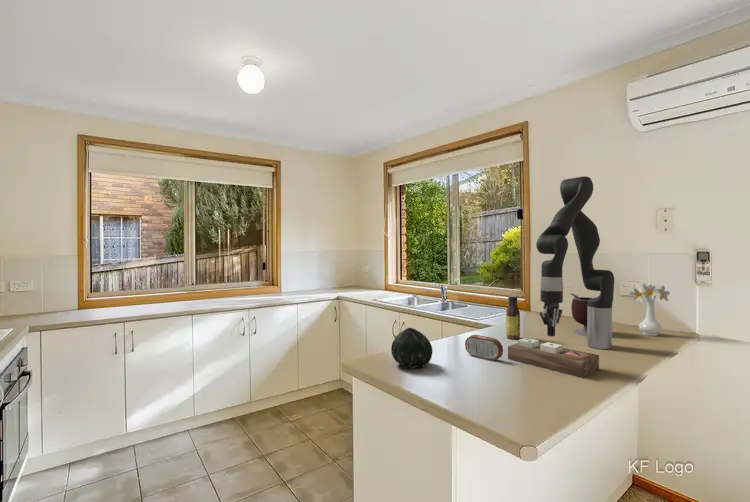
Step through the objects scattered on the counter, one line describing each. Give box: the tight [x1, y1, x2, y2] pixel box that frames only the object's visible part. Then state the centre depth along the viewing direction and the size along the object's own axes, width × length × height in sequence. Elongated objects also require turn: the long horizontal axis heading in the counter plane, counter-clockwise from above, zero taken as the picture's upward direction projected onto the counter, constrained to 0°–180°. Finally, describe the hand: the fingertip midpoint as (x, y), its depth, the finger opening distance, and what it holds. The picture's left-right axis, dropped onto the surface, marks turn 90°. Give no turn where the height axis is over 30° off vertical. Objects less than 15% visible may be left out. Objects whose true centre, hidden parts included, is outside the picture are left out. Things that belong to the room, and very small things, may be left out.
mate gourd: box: [570, 292, 593, 336], centre depth 190 cm, size 16×14×20 cm
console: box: [507, 342, 600, 379], centre depth 140 cm, size 14×27×5 cm, turn 39°
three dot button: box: [565, 351, 589, 359], centre depth 133 cm, size 6×6×4 cm
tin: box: [464, 334, 504, 361], centre depth 147 cm, size 15×3×8 cm, turn 47°
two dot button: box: [517, 337, 540, 348], centre depth 147 cm, size 6×6×4 cm
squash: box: [390, 327, 434, 369], centre depth 138 cm, size 14×15×15 cm
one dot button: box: [540, 341, 564, 354], centre depth 140 cm, size 6×6×4 cm
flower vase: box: [629, 283, 671, 337], centre depth 185 cm, size 13×18×25 cm
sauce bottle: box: [505, 295, 521, 340], centre depth 179 cm, size 7×6×20 cm
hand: (551, 336), depth 140 cm, fingers closed
